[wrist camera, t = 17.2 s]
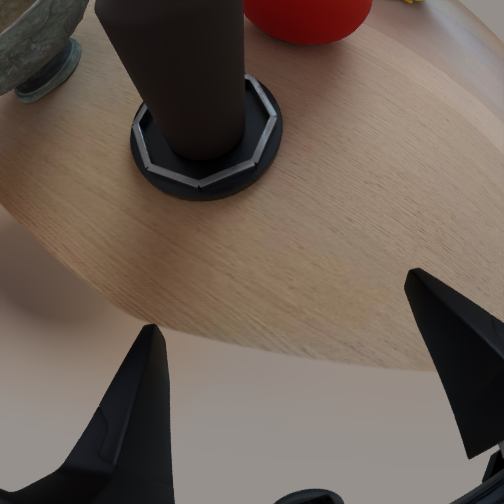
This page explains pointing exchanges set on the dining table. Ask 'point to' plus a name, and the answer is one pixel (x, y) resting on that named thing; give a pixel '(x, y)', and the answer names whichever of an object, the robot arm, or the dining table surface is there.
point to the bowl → (38, 45)
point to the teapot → (410, 0)
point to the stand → (217, 169)
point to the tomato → (307, 18)
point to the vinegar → (184, 67)
